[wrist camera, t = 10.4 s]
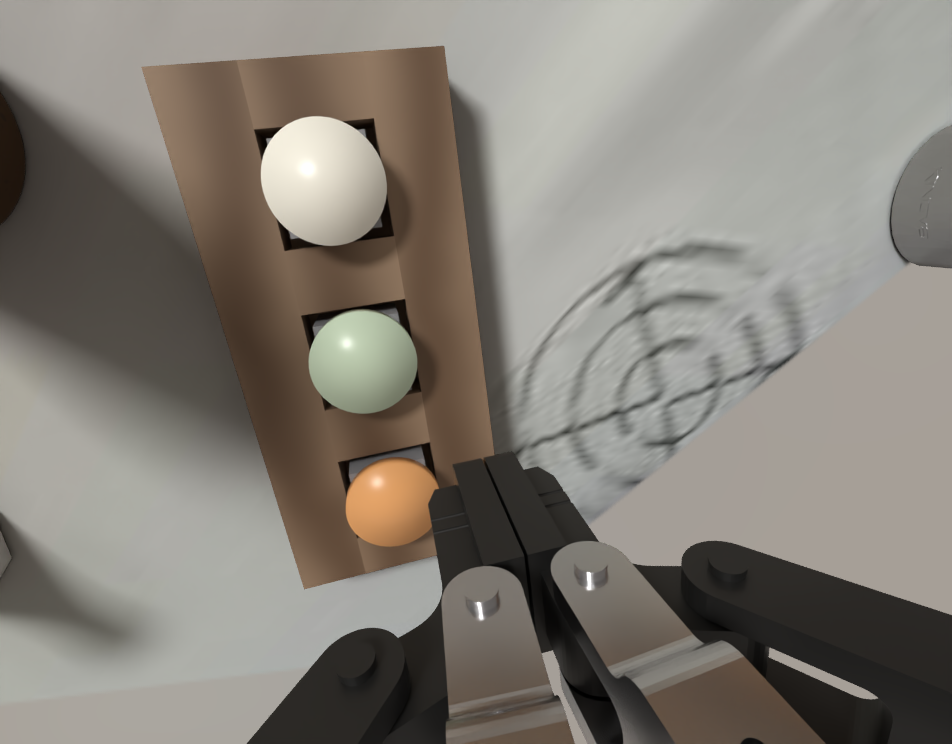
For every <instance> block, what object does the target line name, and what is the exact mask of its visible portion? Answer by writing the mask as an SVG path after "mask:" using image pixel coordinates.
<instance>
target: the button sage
mask: <svg viewBox="0 0 952 744" xmlns="http://www.w3.org/2000/svg"><path fill="white" fill-rule="evenodd" d="M313 331H314V335H315V339H314V341H313V344H312V346H311V349H310V353H309V372H310V376H311V379H312V382H313V384H314V386H315V388H316V389H317V391H318V392H319V393H320V394H321V396H322V397H323V398H324V399H326V400H327V401H328V402H329V403H331V404H332V405H334V406H335V407H337V408H339V409H342V410H345V411H347V412H352V413H360V414H367V413H375V412H379V411H382V410H384V409H387V408H389V407H391V406H393V405H394V404H396V403H397V402H398V401H400V400H401V399H402V398H403V397H404V396H405V395H406V393H407V392H408V391H409V390H412V388H411V386H412V384H413V382H414V379H415V376H416V372H417V354H416V350H415V347H414V345H413V342H412V339H411V337H410V336H409V334H408V332H407V331H406V330H405V328H404V327H403V326H402V325H401V324H400V322H399V316H398V312H397V309H396V306H395V304H394V303H390V304H384V305H378V306H371V307H365V308H359V309H353V310H347V311H340V312H334V313H328V314H322V315H318V317H317V319H316V321H315V323H314V325H313Z"/></svg>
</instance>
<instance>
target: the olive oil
mask: <svg viewBox="0 0 952 744" xmlns="http://www.w3.org/2000/svg"><path fill="white" fill-rule="evenodd" d="M24 178H25V153H24V147H23V142H22V138H21V134H20V131H19V128H18V125H17V123H16V120H15V118H14V116H13V114H12V112H11V110H10V108H9V106H8V104H7V102H6V101H5V99H4V97H3V96H2V94H1V93H0V225H1V224H2V223H3V222H4V221H5V220H6V219H7V217H8V216H9V215H10V214H11V212H12V211H13V209H14V207H15V206H16V204H17V202H18V200H19V197H20V195H21V192H22V188H23V184H24Z"/></svg>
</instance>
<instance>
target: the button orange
mask: <svg viewBox="0 0 952 744" xmlns="http://www.w3.org/2000/svg"><path fill="white" fill-rule="evenodd" d="M349 478H350V482H351V484H350V486H349V488H348V492H347V497H346V517H347V520H348V523H349V525H350V527H351V528H352V530H353V531H354V532H355V533H356V534H357V535H358V536H359V537H360V538H362V539H363V540H365V541H367V542H369V543H371V544H374V545H378V546H385V547H393V546H400V545H404V544H408V543H410V542H413V541H415V540H417V539H418V538H420V537H421V536H423V535H424V534H425V533H426V532H428V531H429V530H430V528H431V527H432V524H431V519H430V513H429V508H428V503H429V501H430V499H431V496H432V494H433V492H434V490H435V489H439V487H438V483H437V481H436V478H435V477H434V475H433V473H432V472H431V471H430V470H429V469H428V468H427V467H426V466H425V460H424V456H423V452H422V448H421V444H419V445H415V446H410V447H405V448H401V449H396V450H391V451H387V452H382V453H377V454H373V455H368V456H363V457H359V458H354V459H350V464H349Z"/></svg>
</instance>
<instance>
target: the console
mask: <svg viewBox="0 0 952 744" xmlns="http://www.w3.org/2000/svg"><path fill="white" fill-rule="evenodd" d="M142 70H143V74H144V77H145V80H146V83H147V86H148V90H149V93H150V96H151V99H152V102H153V106H154V109H155V112H156V115H157V118H158V122H159V125H160V128H161V131H162V134H163V138H164V141H165V144H166V147H167V150H168V154H169V157H170V160H171V163H172V167H173V170H174V173H175V176H176V179H177V183H178V186H179V189H180V192H181V195H182V199H183V202H184V205H185V208H186V211H187V215H188V218H189V221H190V224H191V227H192V231H193V234H194V237H195V240H196V243H197V247H198V250H199V253H200V256H201V259H202V263H203V266H204V269H205V272H206V276H207V279H208V282H209V285H210V288H211V292H212V295H213V298H214V301H215V304H216V308H217V311H218V314H219V317H220V320H221V324H222V327H223V330H224V333H225V336H226V340H227V343H228V346H229V349H230V352H231V356H232V359H233V362H234V365H235V369H236V372H237V375H238V378H239V381H240V385H241V388H242V391H243V394H244V397H245V401H246V404H247V407H248V410H249V413H250V417H251V420H252V423H253V426H254V429H255V433H256V436H257V439H258V442H259V445H260V449H261V452H262V455H263V458H264V461H265V465H266V468H267V471H268V474H269V478H270V481H271V484H272V487H273V490H274V494H275V497H276V500H277V503H278V506H279V510H280V513H281V516H282V519H283V522H284V526H285V529H286V532H287V535H288V538H289V542H290V545H291V548H292V551H293V554H294V558H295V561H296V564H297V567H298V570H299V574H300V577H301V580H302V583H303V587H304V589H307V588H311V587H315V586H319V585H323V584H327V583H330V582H334V581H338V580H342V579H346V578H350V577H354V576H358V575H362V574H365V573H369V572H373V571H377V570H381V569H385V568H389V567H393V566H397V565H401V564H404V563H408V562H412V561H416V560H420V559H424V558H428V557H432V556H436V555H437V552H436V547H435V541H434V535H433V530H432V527H431V528H430V530H429V531H428V532H426V533H425V534H424V535H423V536H421V537H420V538H418V539H417V540H415V541H413V542H410V543H408V544H404V545H400V546H393V547H385V546H378V545H374V544H371V543H369V542H367V541H365V540H363V539H362V538H360V537H359V536H358V535H357V534H356V533H355V532H354V531H353V530H352V528H351V527H350V525H349V523H348V520H347V517H346V497H347V492H348V488H349V486H350V484H351V482H350V478H349V464H350V459H354V458H359V457H363V456H368V455H373V454H377V453H382V452H387V451H391V450H396V449H401V448H405V447H410V446H415V445H419V444H421V448H422V452H423V456H424V460H425V466H426V467H427V468H428V469H429V470H430V471H431V472H432V473H433V475H434V477H435V478H436V481H437V483H438V487H439V489H440V488H444V487H449V486H453V485H455V484H454V478H453V472H452V464H456V463H461V462H465V461H470V460H475V459H479V458H481V459H482V460H483V457H488V456H493V455H494V447H493V439H492V431H491V423H490V415H489V406H488V398H487V390H486V382H485V374H484V366H483V358H482V350H481V342H480V333H479V325H478V317H477V309H476V301H475V293H474V285H473V277H472V268H471V260H470V252H469V244H468V236H467V228H466V220H465V212H464V203H463V195H462V187H461V179H460V171H459V163H458V155H457V147H456V138H455V130H454V122H453V114H452V106H451V98H450V90H449V82H448V74H447V65H446V57H445V49H444V46H436V47H421V48H407V49H393V50H378V51H364V52H349V53H335V54H321V55H306V56H292V57H277V58H263V59H249V60H234V61H220V62H205V63H191V64H177V65H162V66H148V67H142ZM311 116H322V117H329V118H333V119H337V120H339V121H342V122H344V123H346V124H348V125H350V126H352V127H353V128H355V129H356V130H360V129H365V134H366V138H367V140H368V141H369V142H370V143H371V144H372V146H373V147H374V149H375V150H376V152H377V153H378V155H379V157H380V159H381V162H382V164H383V167H384V171H385V175H386V182H387V195H386V202H385V205H384V209H383V211H382V213H381V216H380V217H381V222H382V227H378V228H372V229H371V230H370V231H368V232H367V233H366V234H365V235H363V236H362V237H361V238H359V239H357V240H355V241H353V242H350V243H347V244H343V245H336V246H325V245H318V244H314V243H311V242H308V241H305V240H303V239H301V238H295V239H291V237H290V233H289V230H288V229H286V228H285V227H284V226H283V225H282V224H281V223H280V222H279V221H278V219H277V218H276V217H275V216H274V214H273V213H272V211H271V209H270V208H269V206H268V203H267V201H266V199H265V196H264V193H263V189H262V184H261V164H262V159H263V155H264V153H265V150H266V148H267V146H268V144H267V140H266V139H267V138H273V137H274V135H275V134H276V133H277V132H278V131H279V130H280V129H282V128H283V127H284V126H286V125H287V124H289V123H291V122H293V121H295V120H298V119H301V118H305V117H311ZM390 303H394V304H395V306H396V309H397V312H398V316H399V322H400V324H401V325H402V326H403V327H404V328H405V330H406V331H407V332H408V334H409V336H410V337H411V339H412V342H413V345H414V347H415V350H416V354H417V372H416V376H415V379H414V382H413V384H412V386H411V388H412V390H409V391H408V392H407V393H406V395H405V396H404V397H403V398H402V399H401V400H400V401H398V402H397V403H396V404H394V405H393V406H391V407H389V408H387V409H384V410H382V411H379V412H375V413H367V414H360V413H352V412H347V411H345V410H342V409H339V408H337V407H335V406H334V405H332V404H331V403H329V402H328V401H327V400H326V399H324V398H323V397H322V396H321V394H320V393H319V392H318V391H317V389H316V388H315V386H314V384H313V382H312V379H311V376H310V372H309V353H310V349H311V346H312V344H313V341H314V339H315V335H314V331H313V325H314V323H315V321H316V319H317V317H318V315H322V314H328V313H334V312H340V311H347V310H353V309H359V308H365V307H371V306H378V305H384V304H390Z"/></svg>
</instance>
